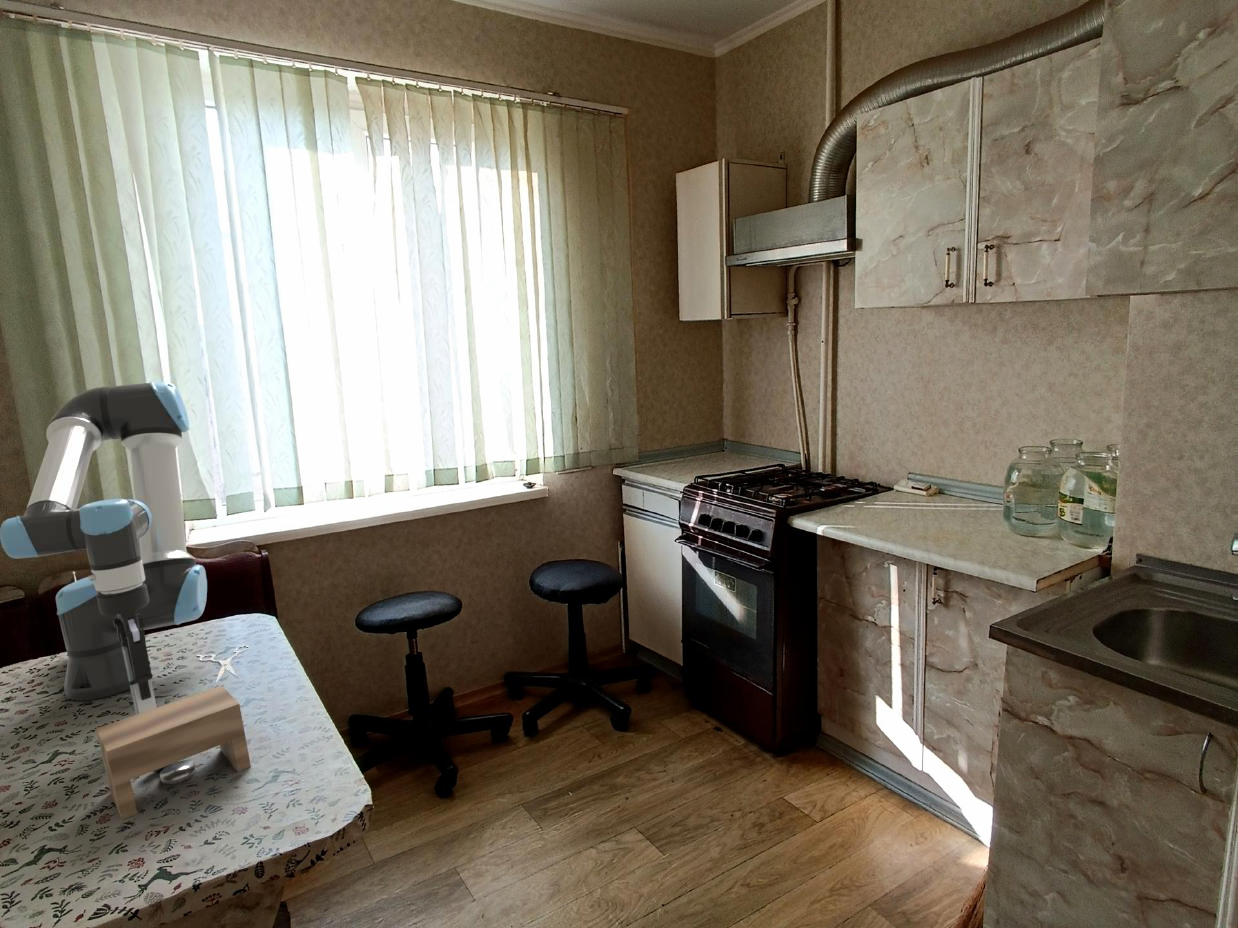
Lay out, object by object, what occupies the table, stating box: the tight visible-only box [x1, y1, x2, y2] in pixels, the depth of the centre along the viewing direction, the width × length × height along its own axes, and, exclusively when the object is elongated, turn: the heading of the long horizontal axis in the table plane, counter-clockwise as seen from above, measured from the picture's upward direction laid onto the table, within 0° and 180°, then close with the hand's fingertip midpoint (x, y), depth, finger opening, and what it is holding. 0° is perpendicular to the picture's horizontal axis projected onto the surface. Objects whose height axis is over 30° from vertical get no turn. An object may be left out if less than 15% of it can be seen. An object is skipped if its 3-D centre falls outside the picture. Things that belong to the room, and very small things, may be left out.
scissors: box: [196, 645, 250, 683], centre depth 166 cm, size 11×1×20 cm
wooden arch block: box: [95, 685, 252, 821], centre depth 120 cm, size 10×18×11 cm, turn 132°
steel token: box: [159, 759, 197, 785], centre depth 122 cm, size 5×5×1 cm
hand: (146, 710), depth 137 cm, fingers closed on push tool, 3 cm apart
